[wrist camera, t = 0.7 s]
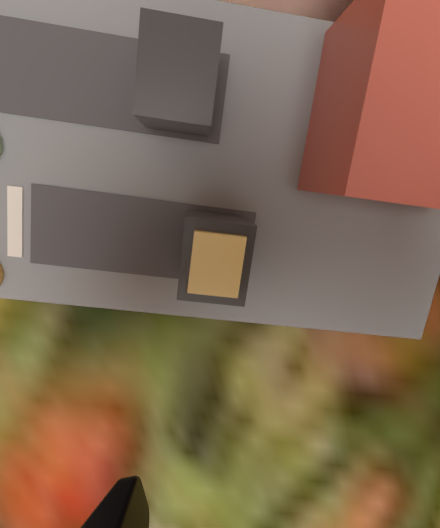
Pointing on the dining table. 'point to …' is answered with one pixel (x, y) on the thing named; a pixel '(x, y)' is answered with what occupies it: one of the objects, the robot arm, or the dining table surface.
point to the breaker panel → (188, 177)
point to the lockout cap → (378, 105)
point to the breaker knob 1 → (176, 71)
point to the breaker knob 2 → (216, 258)
